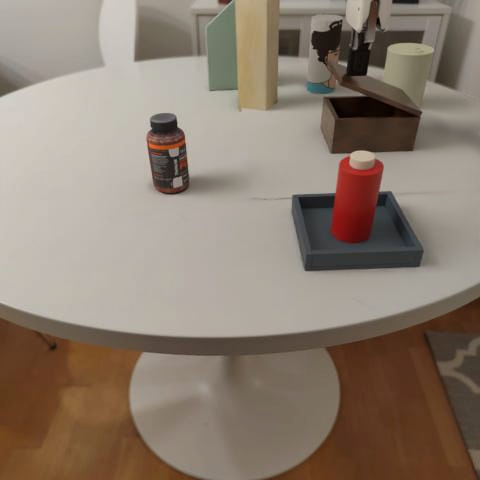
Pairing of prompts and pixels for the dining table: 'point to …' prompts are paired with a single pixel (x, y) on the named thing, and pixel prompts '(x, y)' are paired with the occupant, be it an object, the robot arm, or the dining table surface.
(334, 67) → the chest lid
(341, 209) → the ketchup bottle
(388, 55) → the can
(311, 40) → the cup
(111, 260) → the dining table surface
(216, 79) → the green magazine holder
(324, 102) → the chest
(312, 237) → the tray
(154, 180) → the supplement bottle
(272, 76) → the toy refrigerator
